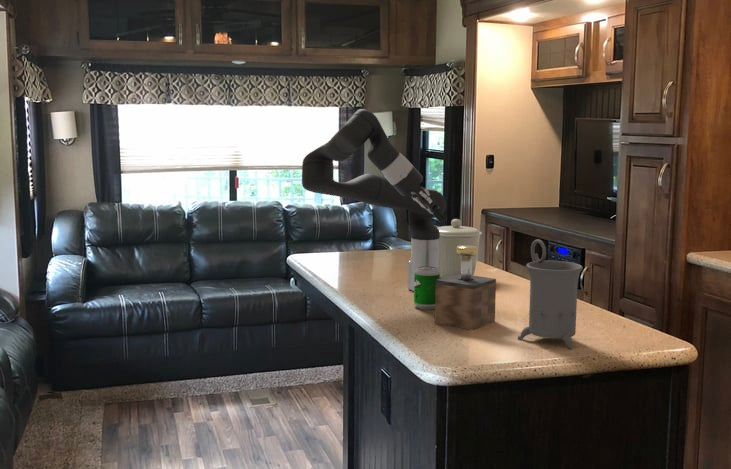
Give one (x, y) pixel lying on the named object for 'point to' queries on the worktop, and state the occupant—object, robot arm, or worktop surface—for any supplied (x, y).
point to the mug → (552, 297)
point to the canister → (449, 243)
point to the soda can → (425, 286)
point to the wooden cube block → (465, 301)
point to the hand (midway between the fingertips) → (444, 220)
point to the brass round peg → (466, 260)
